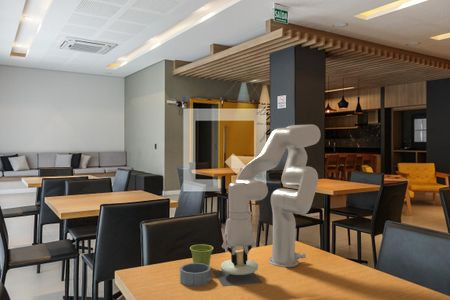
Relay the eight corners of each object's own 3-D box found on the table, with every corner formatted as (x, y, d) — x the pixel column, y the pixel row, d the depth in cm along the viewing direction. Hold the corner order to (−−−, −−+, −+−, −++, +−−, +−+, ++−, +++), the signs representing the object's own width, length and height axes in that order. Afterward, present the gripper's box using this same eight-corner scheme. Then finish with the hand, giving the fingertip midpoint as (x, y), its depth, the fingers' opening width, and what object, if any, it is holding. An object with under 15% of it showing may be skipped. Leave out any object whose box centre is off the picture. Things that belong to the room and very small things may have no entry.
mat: (250, 269, 143) (250, 268, 143) (263, 284, 129) (263, 282, 129) (213, 272, 140) (213, 271, 140) (222, 287, 125) (222, 286, 125)
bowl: (207, 275, 137) (207, 262, 137) (213, 286, 126) (213, 272, 126) (178, 277, 134) (178, 264, 134) (182, 288, 124) (182, 274, 124)
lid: (251, 259, 143) (251, 244, 143) (263, 272, 130) (263, 256, 129) (217, 263, 140) (216, 248, 140) (226, 276, 126) (225, 259, 126)
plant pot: (214, 265, 148) (214, 244, 148) (211, 273, 138) (211, 251, 138) (192, 264, 149) (192, 243, 148) (187, 272, 139) (187, 250, 139)
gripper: (256, 211, 140) (256, 258, 140) (215, 214, 136) (215, 262, 136) (262, 216, 132) (263, 265, 133) (219, 219, 128) (220, 269, 129)
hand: (239, 263), depth 135 cm, fingers closed on lid, 3 cm apart
